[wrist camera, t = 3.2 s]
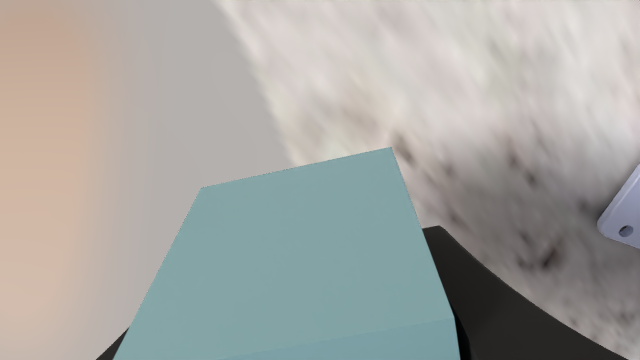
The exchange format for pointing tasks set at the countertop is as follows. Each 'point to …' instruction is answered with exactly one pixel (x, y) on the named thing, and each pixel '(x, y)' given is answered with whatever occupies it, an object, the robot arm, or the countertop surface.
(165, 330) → the teal block
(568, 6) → the countertop surface
